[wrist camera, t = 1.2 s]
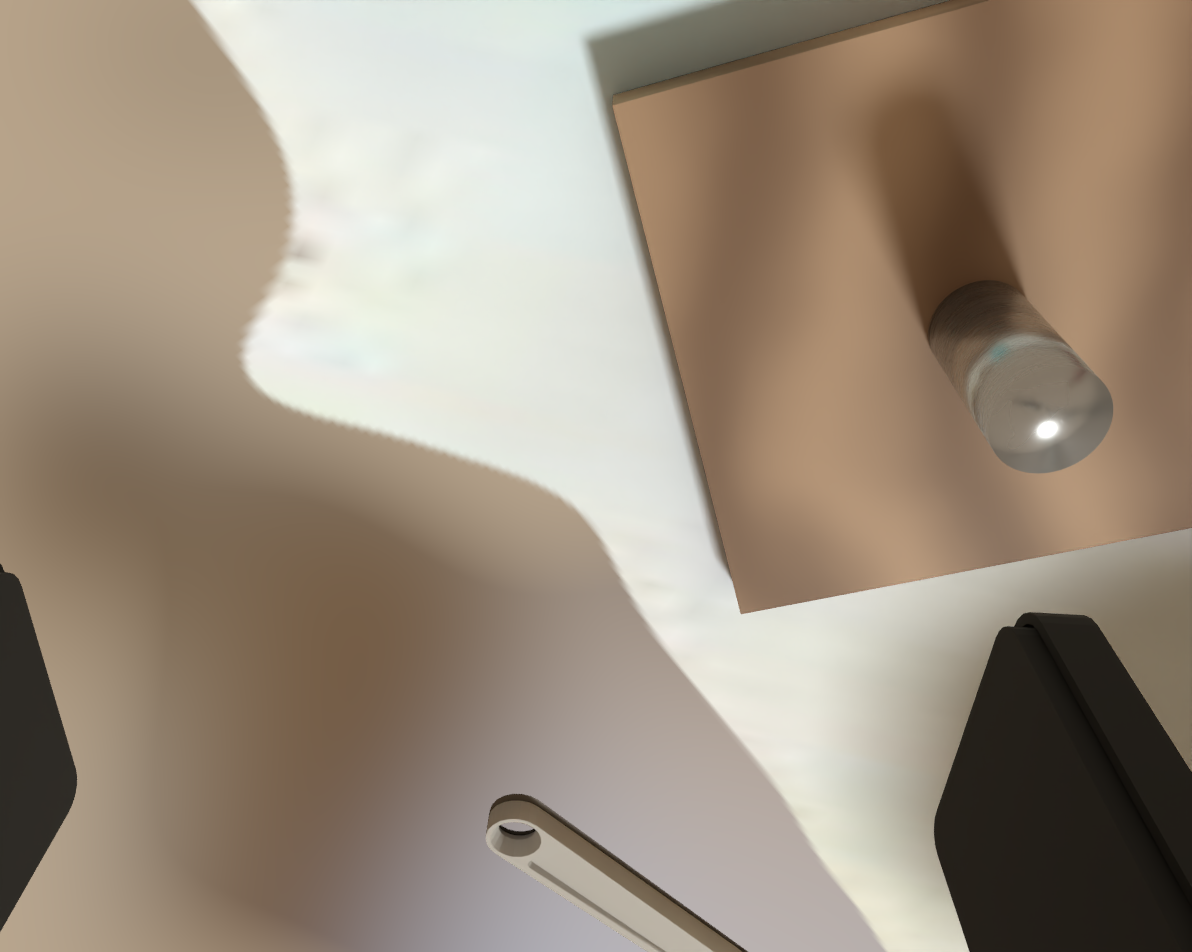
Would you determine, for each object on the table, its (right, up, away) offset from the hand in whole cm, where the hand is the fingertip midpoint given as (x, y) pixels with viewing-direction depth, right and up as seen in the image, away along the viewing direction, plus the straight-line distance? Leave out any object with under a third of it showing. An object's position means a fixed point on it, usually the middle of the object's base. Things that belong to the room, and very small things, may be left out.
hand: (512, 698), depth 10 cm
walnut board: (+12, +7, +22) cm, 26 cm away
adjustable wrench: (+6, -19, +39) cm, 44 cm away
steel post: (+12, +7, +20) cm, 25 cm away
